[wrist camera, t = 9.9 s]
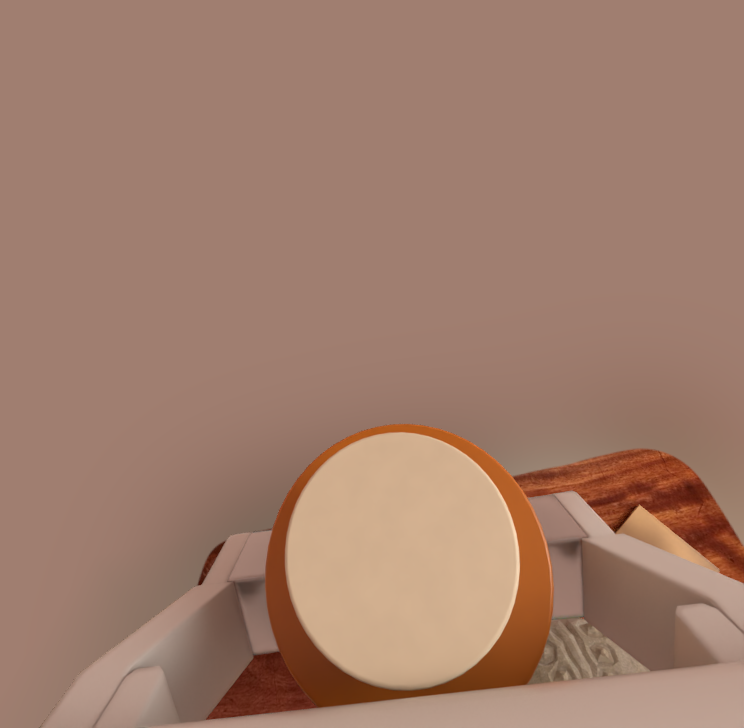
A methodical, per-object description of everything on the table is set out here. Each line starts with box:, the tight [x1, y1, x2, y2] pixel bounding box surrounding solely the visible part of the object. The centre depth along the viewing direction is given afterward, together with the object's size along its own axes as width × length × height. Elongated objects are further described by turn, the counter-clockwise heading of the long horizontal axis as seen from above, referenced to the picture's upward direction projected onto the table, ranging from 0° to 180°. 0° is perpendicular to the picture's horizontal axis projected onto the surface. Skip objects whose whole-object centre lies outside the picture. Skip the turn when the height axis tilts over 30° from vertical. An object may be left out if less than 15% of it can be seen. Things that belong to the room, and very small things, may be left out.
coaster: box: [615, 505, 720, 573], centre depth 43 cm, size 9×9×1 cm
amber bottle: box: [265, 424, 554, 708], centre depth 9 cm, size 5×5×9 cm
